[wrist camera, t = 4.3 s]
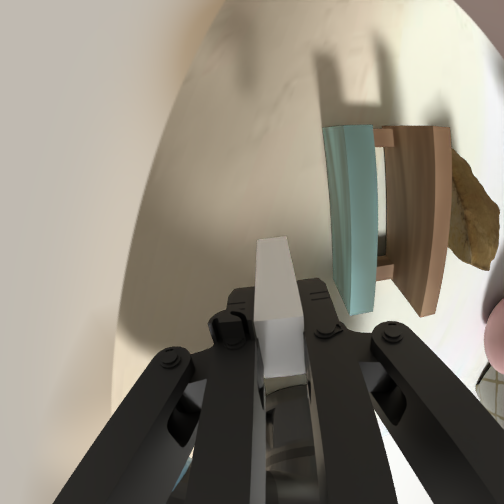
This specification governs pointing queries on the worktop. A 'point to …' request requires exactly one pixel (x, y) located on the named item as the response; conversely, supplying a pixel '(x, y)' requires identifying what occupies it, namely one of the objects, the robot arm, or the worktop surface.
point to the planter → (492, 394)
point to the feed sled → (389, 212)
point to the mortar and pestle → (495, 337)
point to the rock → (472, 218)
